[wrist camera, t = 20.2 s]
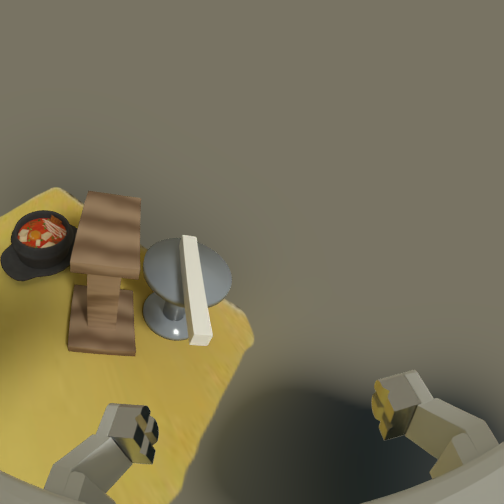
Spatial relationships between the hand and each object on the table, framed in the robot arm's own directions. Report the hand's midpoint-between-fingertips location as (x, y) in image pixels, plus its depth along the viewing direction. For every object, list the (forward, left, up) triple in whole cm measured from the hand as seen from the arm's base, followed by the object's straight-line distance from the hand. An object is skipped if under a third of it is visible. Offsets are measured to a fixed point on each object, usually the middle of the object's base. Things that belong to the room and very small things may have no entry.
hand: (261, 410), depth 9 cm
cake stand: (-17, +37, -47) cm, 62 cm away
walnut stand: (-27, +24, -47) cm, 59 cm away
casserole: (-52, +27, -47) cm, 75 cm away
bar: (-14, +33, -31) cm, 47 cm away
